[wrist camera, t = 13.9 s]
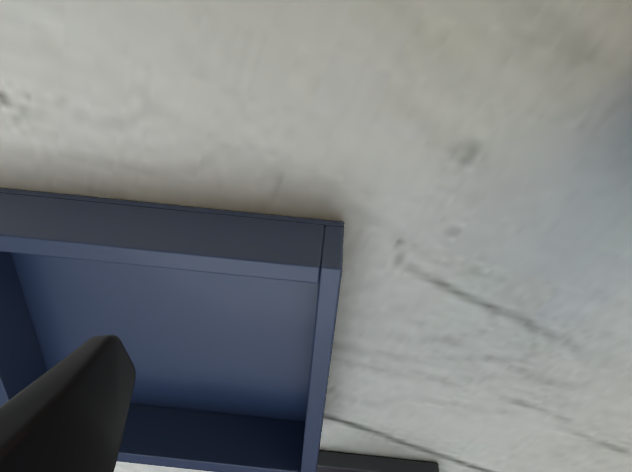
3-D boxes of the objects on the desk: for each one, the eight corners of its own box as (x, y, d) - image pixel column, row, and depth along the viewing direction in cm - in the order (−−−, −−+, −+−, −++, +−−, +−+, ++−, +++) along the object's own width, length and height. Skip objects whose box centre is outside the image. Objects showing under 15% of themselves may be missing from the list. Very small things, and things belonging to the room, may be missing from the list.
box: (344, 221, 21) (342, 269, 18) (319, 426, 29) (315, 482, 26) (-21, 185, 22) (-78, 227, 19) (47, 397, 29) (13, 450, 26)
